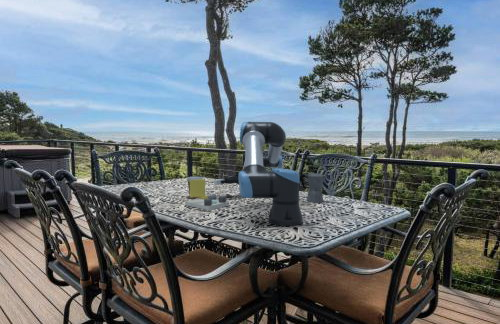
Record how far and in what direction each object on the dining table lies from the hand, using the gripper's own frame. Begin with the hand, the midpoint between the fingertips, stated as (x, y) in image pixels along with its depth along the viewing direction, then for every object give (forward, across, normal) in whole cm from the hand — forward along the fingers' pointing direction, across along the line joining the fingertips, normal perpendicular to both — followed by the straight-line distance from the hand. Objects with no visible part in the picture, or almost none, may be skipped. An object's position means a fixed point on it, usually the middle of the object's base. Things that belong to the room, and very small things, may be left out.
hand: (215, 182), depth 202 cm
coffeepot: (-36, -42, -11) cm, 57 cm away
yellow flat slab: (+13, -4, -8) cm, 16 cm away
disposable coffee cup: (0, +18, -11) cm, 21 cm away
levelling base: (+11, -5, -11) cm, 16 cm away
